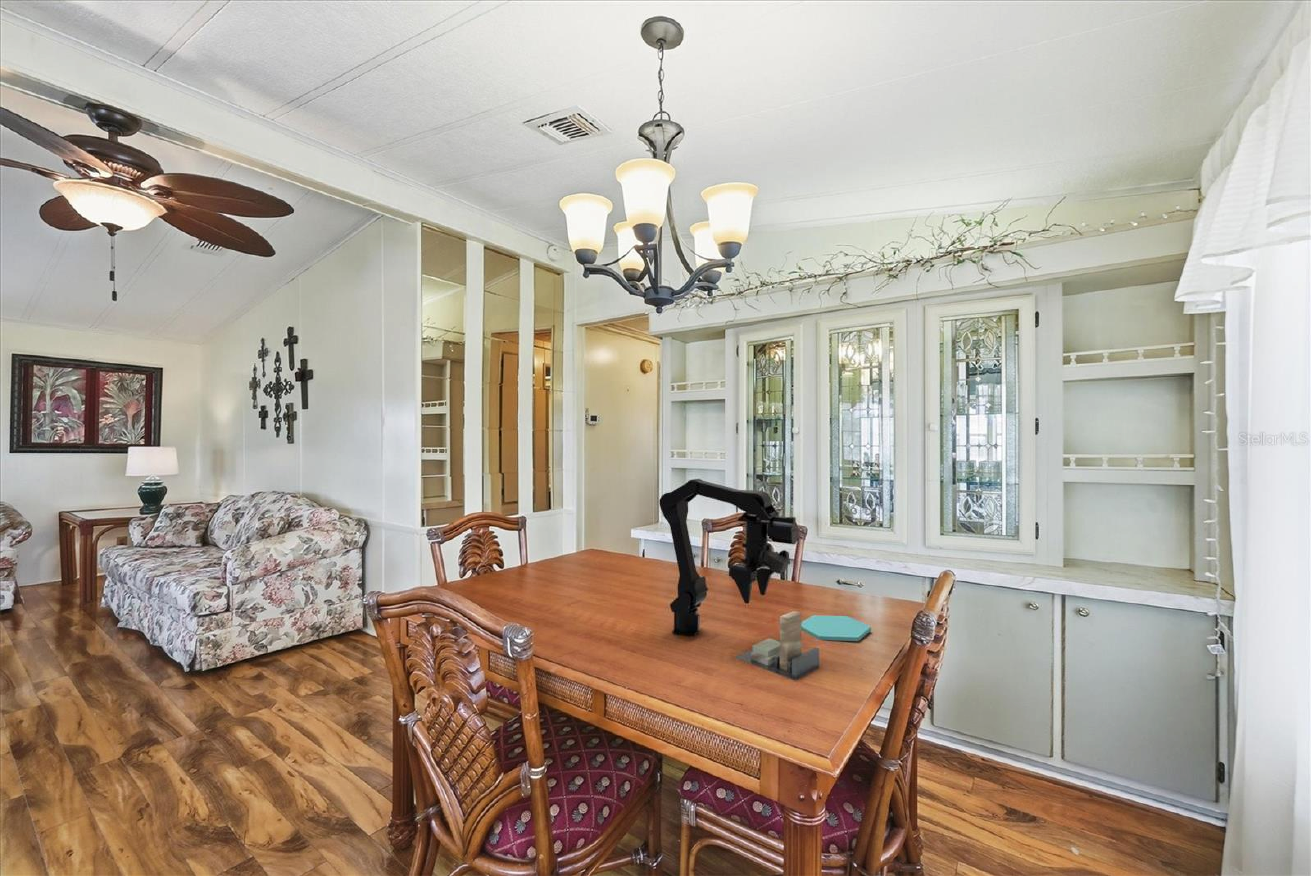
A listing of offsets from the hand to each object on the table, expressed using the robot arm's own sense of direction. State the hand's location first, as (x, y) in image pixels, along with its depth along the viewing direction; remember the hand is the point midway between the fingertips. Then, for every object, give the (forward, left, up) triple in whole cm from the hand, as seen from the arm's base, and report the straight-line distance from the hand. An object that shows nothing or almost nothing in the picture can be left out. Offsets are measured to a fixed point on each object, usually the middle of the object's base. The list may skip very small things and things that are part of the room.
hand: (754, 599), depth 140 cm
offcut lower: (+4, -9, -11) cm, 15 cm away
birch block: (+10, -12, -11) cm, 19 cm away
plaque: (+20, +19, -13) cm, 31 cm away
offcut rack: (+7, -10, -12) cm, 17 cm away
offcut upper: (+4, -8, -10) cm, 14 cm away
